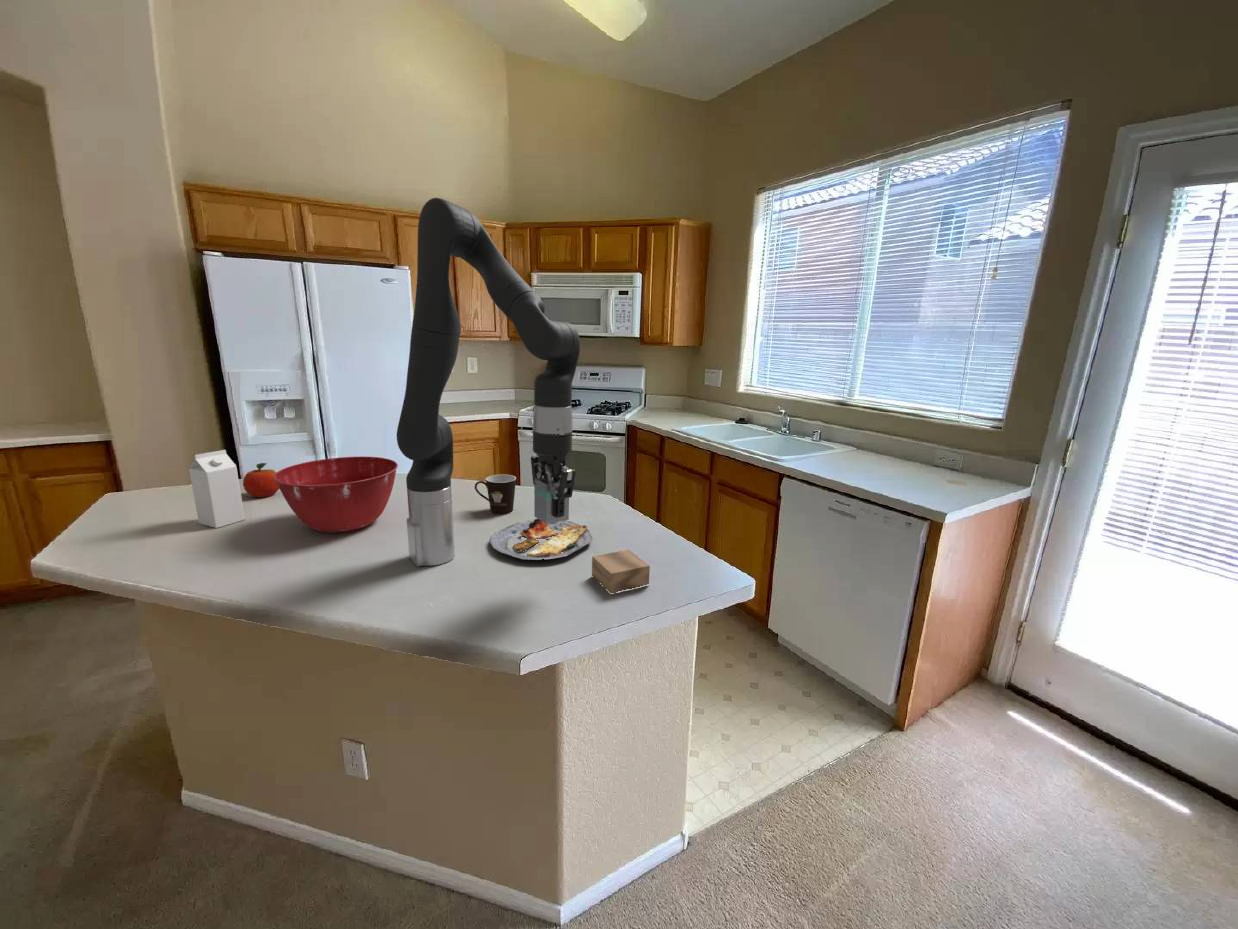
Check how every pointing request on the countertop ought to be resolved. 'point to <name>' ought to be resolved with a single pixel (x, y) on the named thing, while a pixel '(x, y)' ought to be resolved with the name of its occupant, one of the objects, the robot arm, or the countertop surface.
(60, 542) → the countertop surface
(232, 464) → the milk carton
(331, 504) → the mixing bowl
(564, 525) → the food plate
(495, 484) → the coffee mug
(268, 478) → the fruit
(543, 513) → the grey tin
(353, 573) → the countertop surface
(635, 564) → the tan block
